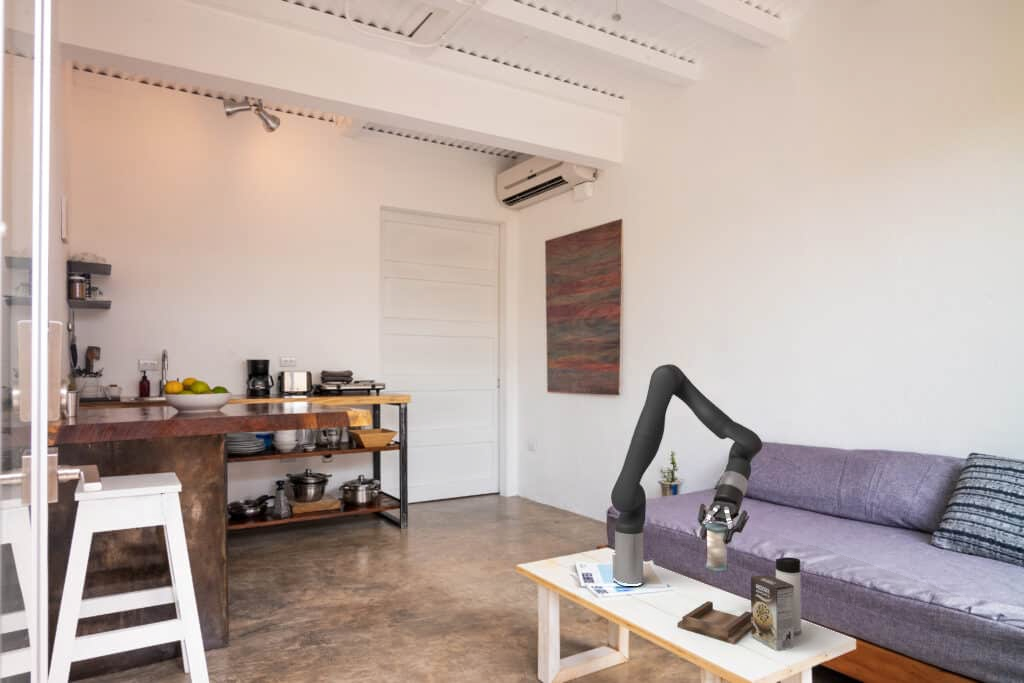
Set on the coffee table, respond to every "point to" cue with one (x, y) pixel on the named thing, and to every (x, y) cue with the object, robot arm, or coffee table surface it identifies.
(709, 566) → the beige and blue cylinder
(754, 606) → the coffee box
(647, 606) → the coffee table surface
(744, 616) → the open-sided brown tray
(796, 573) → the travel mug
